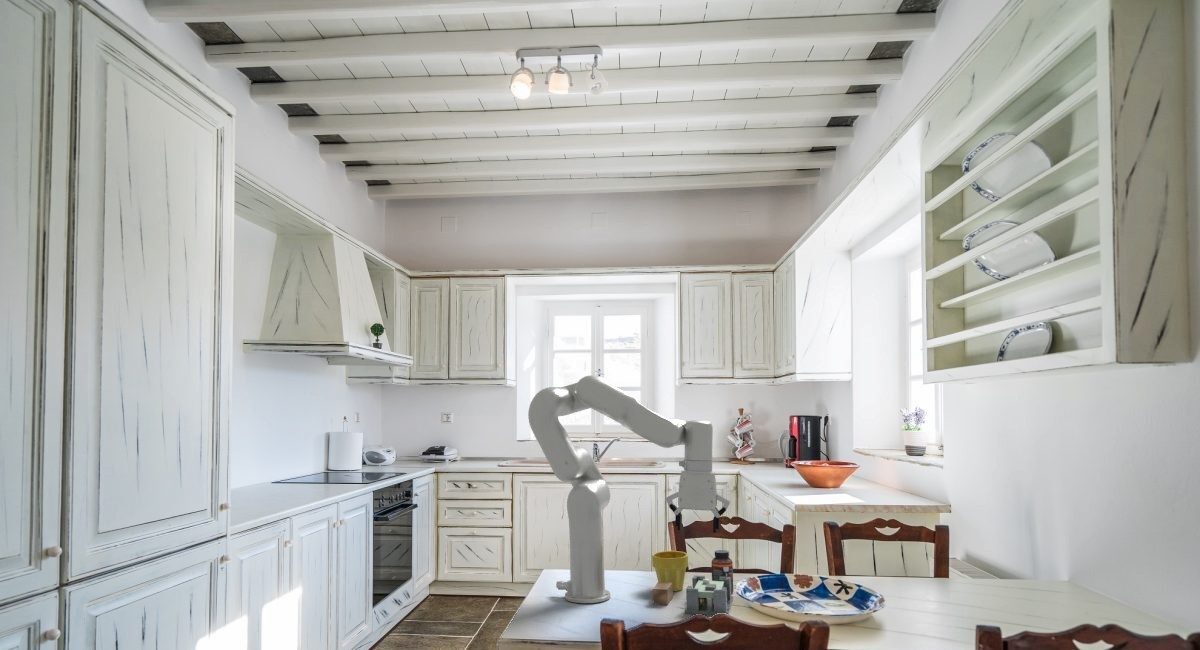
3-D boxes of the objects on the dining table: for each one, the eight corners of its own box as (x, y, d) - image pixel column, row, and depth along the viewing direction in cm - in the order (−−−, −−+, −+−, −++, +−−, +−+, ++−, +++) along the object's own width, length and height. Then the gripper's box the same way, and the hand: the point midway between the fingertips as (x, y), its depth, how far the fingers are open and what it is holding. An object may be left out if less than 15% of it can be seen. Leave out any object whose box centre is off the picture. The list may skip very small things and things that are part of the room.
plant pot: (650, 592, 217) (649, 557, 218) (655, 583, 227) (655, 550, 228) (686, 594, 215) (685, 558, 215) (690, 585, 225) (689, 551, 225)
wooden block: (653, 604, 205) (652, 588, 205) (658, 596, 213) (658, 581, 213) (667, 605, 204) (667, 589, 204) (672, 597, 212) (672, 582, 212)
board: (692, 597, 198) (692, 587, 198) (698, 585, 209) (698, 576, 209) (720, 598, 196) (719, 588, 196) (724, 587, 207) (724, 577, 208)
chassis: (684, 613, 196) (683, 589, 196) (693, 597, 211) (692, 574, 212) (728, 615, 193) (727, 591, 194) (733, 599, 208) (732, 576, 209)
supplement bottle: (733, 595, 213) (731, 553, 214) (711, 594, 214) (710, 553, 215) (733, 589, 218) (732, 549, 219) (712, 589, 220) (711, 548, 221)
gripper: (664, 466, 206) (663, 530, 205) (728, 469, 202) (728, 535, 200) (669, 463, 213) (668, 526, 212) (731, 466, 209) (731, 530, 207)
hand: (697, 530), depth 206 cm, fingers open, 9 cm apart
